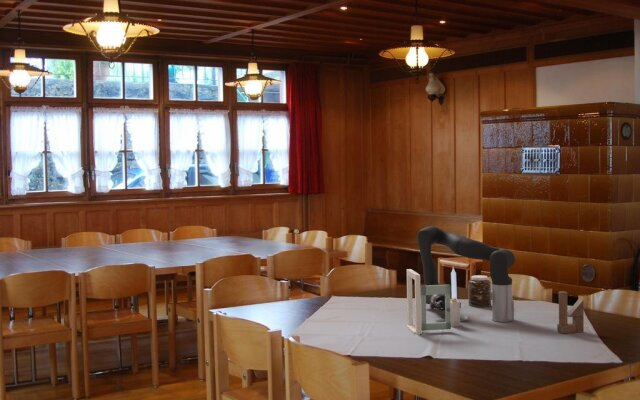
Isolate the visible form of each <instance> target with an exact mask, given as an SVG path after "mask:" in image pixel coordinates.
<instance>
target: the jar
mask: <svg viewBox="0 0 640 400" xmlns="http://www.w3.org/2000/svg"><path fill="white" fill-rule="evenodd" d="M467 285H468V287H467V289H468V290H467V291H468V293H467V294H468V296H467V298H468V300H467V301H468V303H467V304H468V306H470V307H474V308H489V307H492V280H490V279H489V277H488V276H487V275H481V274H478V275H472V276H471V277H470V279H469V280H468V284H467Z"/></svg>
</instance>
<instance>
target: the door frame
mask: <svg viewBox="0 0 640 400" xmlns="http://www.w3.org/2000/svg"><path fill="white" fill-rule="evenodd" d="M413 280H414V296H415V297H414V303H415V304H414V307H413ZM406 305H407V306H406V309H407V311H406V312H407V313H406V314H407V325H406V328H407V329H408V330H409V332H411V333H412V334H413V335H416V336H418V335H419V336H420V334H421V335H422V334H423V331H422V330H421V274H419V273H418V272H417V271H415V270H413V269H411V268H409V269H408V268H406ZM413 308H415V309H414V310H415V320H414V316H413V315H414V314H413V313H414V311H413ZM414 321H415V324H414Z"/></svg>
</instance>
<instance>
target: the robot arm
mask: <svg viewBox="0 0 640 400" xmlns="http://www.w3.org/2000/svg"><path fill="white" fill-rule="evenodd" d="M416 239H417V243H418V244H417V245H418V248H419V249H418V250H419V253H420V258H421V263H422V269H423V283H424V286H428V285H440V284H439V279H438V278H439V277H438V274H439V273H438V267H437V265H436V262H435V261H434V259H433V256H432V246H433V245H436V244H437V245H442V246H445V247H447V248H449V249H450V251H451V252H453V253H454V254H456V255H457V256H460V257H463V258H468V259H471V260H483V261H487V262H489V273H490V274H489V276H490V279H491V308H492V315H491V317H492V321H494V322H500V323H506V322H512V321H513V322H514V321H515V301H514V299H513V279H512V277H510V276H509V270H508V269H510V268H512V267H513V266H514V264H515V263H516V256H515V254H514V253H513V252H512V251H511V250H510V249H508V248H507V249H506V248H501V247H495V246H493V245H489V244H485V243H482V242H480V241H477V240H474V239H471V238H468V237H466V236H462V235H458V234H455V233H451V232H449V231H446V230H444V229H441V228H440V227H438V226H434V225H430V226H426V227H424V228H421V229H420V230H419V231H418V232H417V237H416ZM426 305H429V308H430V309H431V310H437V311H442V312H444V311H445V294H438V295H426ZM461 308H462V304H461V302H460V309H461Z"/></svg>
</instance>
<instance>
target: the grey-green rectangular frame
mask: <svg viewBox="0 0 640 400" xmlns="http://www.w3.org/2000/svg"><path fill="white" fill-rule="evenodd" d="M420 292H421V331H422V332H423V331H440V330H442V331H444V330H451V315H450V301H451V284H439V285H420ZM438 294H443V295H445V310H444V311H445V312H444V314H445V315H444V316H445V321H441V322H440V321H439V322H427V304H426V295H438Z"/></svg>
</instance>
